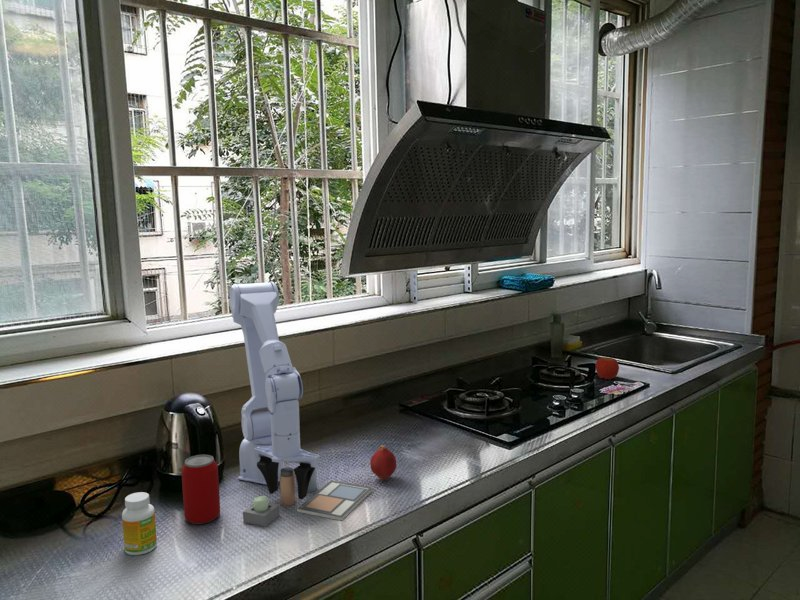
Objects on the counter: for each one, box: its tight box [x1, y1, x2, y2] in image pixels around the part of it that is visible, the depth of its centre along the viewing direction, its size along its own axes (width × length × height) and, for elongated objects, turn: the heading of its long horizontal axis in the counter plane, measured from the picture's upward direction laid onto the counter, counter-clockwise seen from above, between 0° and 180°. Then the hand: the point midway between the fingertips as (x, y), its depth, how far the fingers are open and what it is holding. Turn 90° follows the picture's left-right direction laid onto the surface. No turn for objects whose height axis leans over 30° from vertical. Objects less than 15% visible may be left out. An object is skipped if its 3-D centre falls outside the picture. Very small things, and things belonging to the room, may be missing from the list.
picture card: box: [296, 480, 373, 521], centre depth 130 cm, size 10×14×1 cm
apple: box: [595, 356, 620, 380], centre depth 220 cm, size 8×8×8 cm
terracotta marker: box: [279, 466, 297, 506], centre depth 130 cm, size 3×3×7 cm
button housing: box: [242, 501, 281, 528], centre depth 123 cm, size 5×5×2 cm
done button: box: [253, 495, 269, 513], centre depth 123 cm, size 3×3×3 cm
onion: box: [369, 445, 397, 481], centre depth 140 cm, size 6×6×8 cm
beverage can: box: [181, 454, 221, 525], centre depth 123 cm, size 7×7×12 cm
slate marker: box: [307, 467, 318, 493], centre depth 136 cm, size 3×3×7 cm
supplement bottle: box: [121, 491, 158, 556], centre depth 113 cm, size 5×5×10 cm
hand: (288, 494), depth 130 cm, fingers open, 6 cm apart
